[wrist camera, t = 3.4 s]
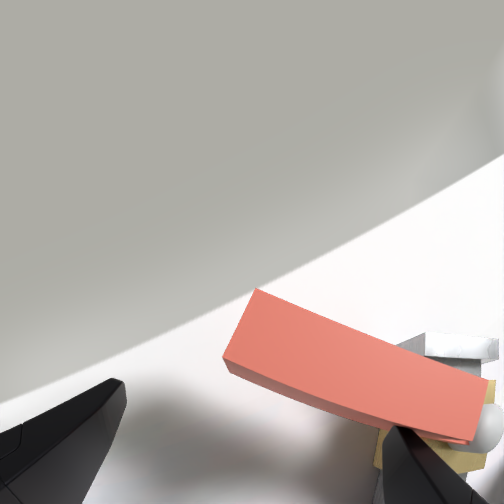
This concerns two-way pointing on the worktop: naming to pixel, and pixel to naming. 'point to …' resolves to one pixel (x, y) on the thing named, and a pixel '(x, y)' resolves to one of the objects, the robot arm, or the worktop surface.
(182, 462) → the worktop surface
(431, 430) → the lever
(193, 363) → the worktop surface
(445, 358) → the valve body
